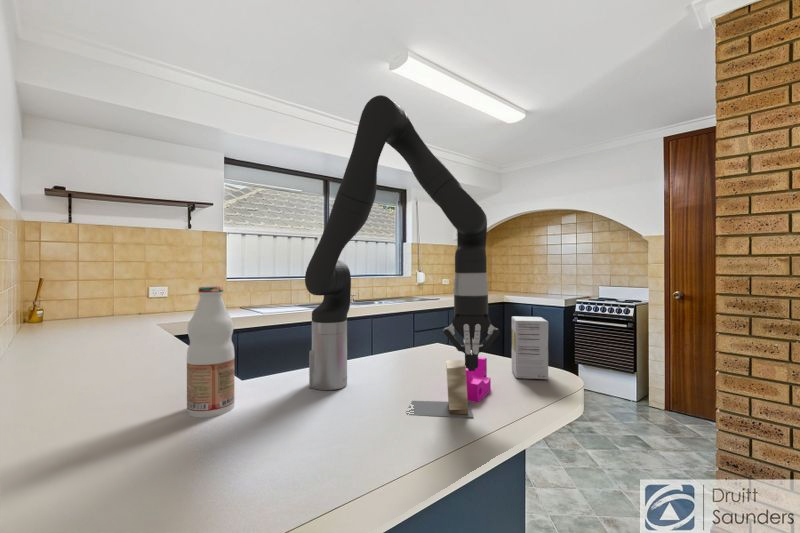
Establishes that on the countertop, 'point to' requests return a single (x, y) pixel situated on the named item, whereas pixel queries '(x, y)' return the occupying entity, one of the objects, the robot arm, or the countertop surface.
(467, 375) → the toy block
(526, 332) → the supplement box
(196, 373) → the fruit juice
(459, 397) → the ash block
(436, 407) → the mat
